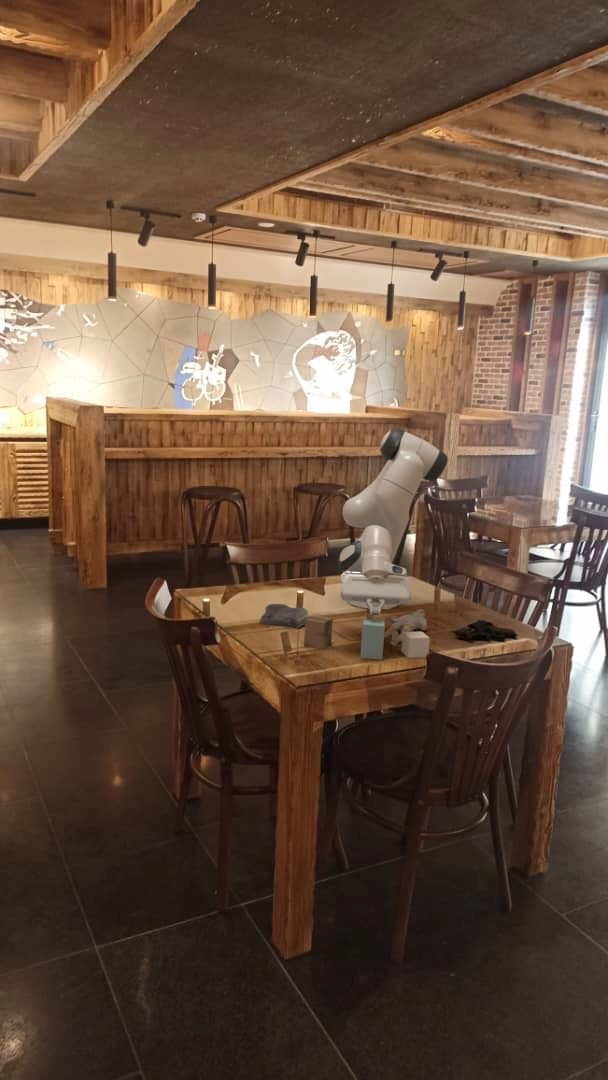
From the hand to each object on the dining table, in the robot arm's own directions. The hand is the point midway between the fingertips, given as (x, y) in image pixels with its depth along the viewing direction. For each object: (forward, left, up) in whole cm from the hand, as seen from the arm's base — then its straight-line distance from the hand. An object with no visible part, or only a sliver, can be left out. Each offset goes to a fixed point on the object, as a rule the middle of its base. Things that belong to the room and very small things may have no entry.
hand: (375, 614), depth 222 cm
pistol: (-44, +9, -13) cm, 46 cm away
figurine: (-25, -10, -13) cm, 30 cm away
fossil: (-2, -40, -13) cm, 42 cm away
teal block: (+1, 0, -12) cm, 12 cm away
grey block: (-11, +6, -12) cm, 18 cm away
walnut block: (+7, -16, -12) cm, 21 cm away
